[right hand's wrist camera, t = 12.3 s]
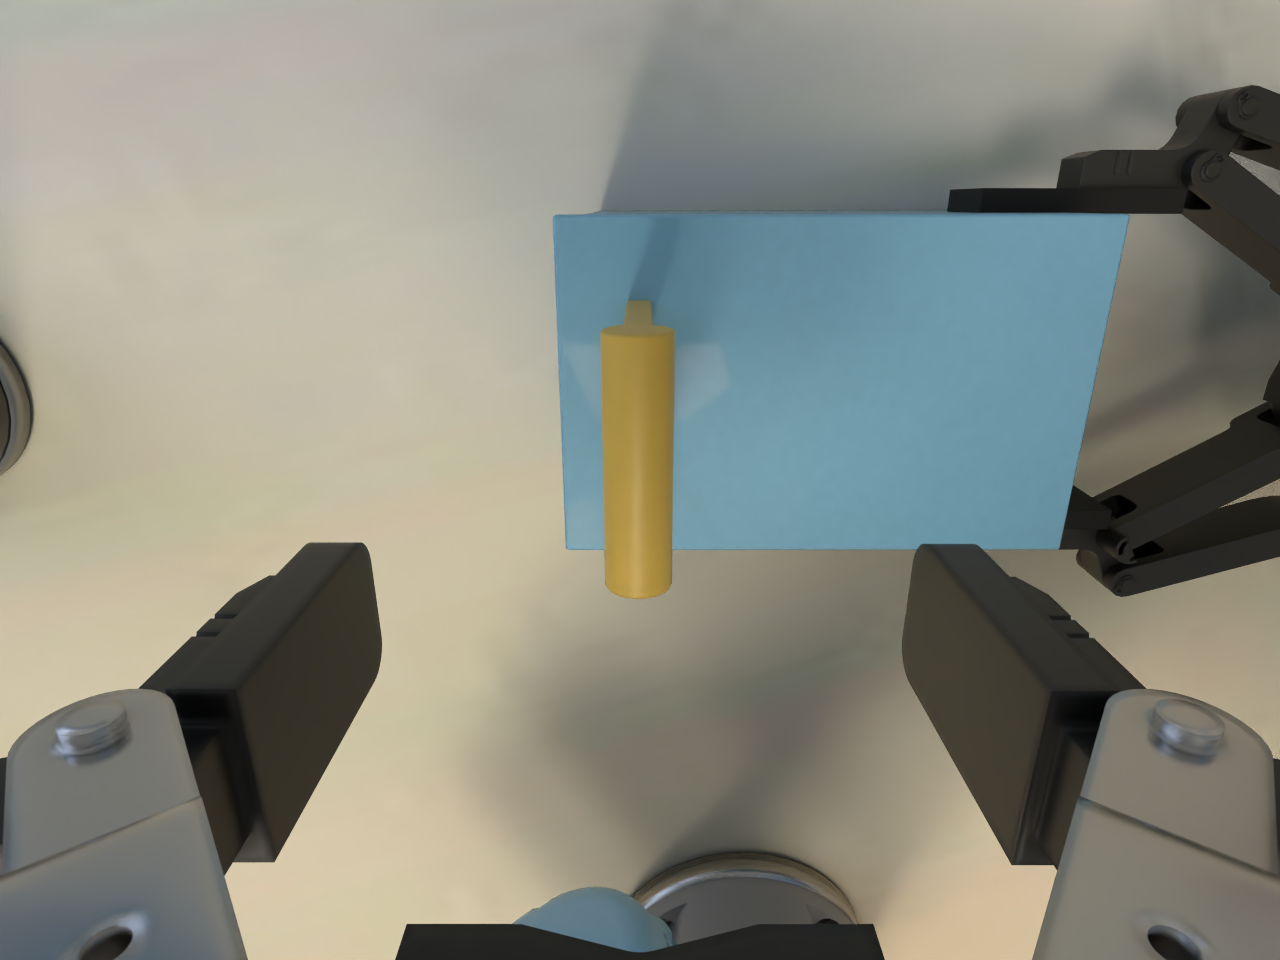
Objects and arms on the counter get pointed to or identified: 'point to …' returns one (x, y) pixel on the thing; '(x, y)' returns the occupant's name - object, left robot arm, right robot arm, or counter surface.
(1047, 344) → the lid
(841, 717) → the counter surface
